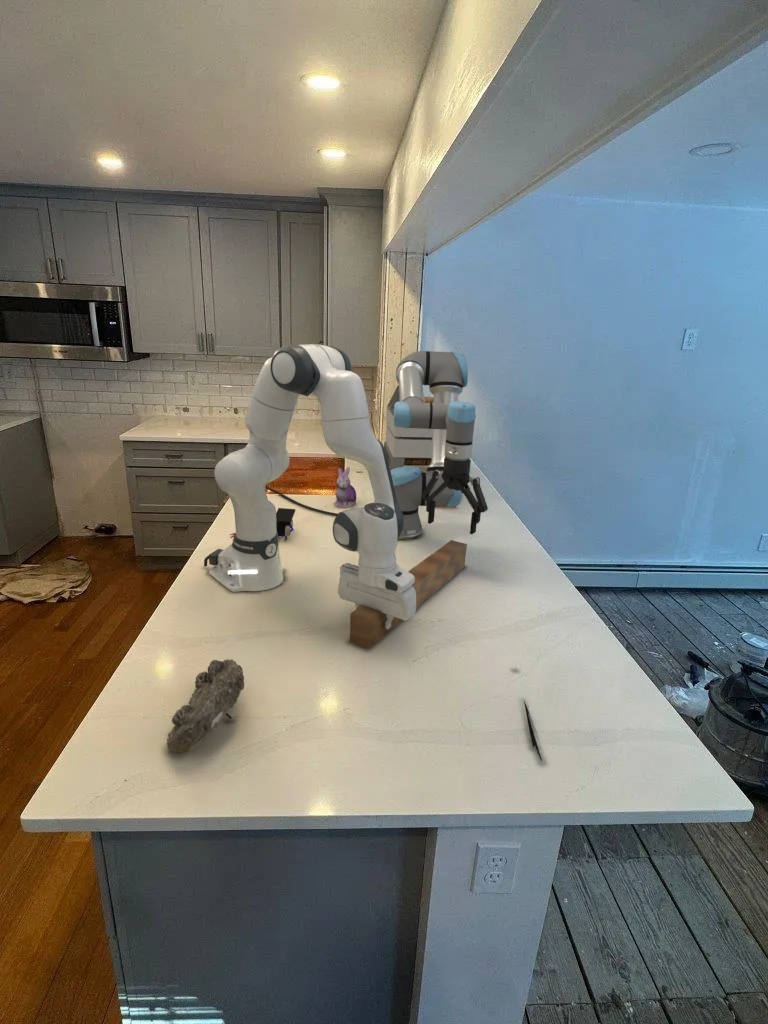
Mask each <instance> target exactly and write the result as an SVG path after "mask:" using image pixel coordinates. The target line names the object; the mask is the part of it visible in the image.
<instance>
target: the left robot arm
mask: <svg viewBox="0 0 768 1024" xmlns="http://www.w3.org/2000/svg"><path fill="white" fill-rule="evenodd" d="M300 395H301V396H305V397H309V396H310V395H314V397H316V398H317V400H318V402H319V405H320V414H321V415H320V416H321V425H322V434H323V438H324V442H325V444H326V446H327V447H328V448H329V449H330V450H331V451H332V452H333V453H334V454H336V455H337V456H339V457H341V458H344V459H347V460H350V461H354V462H357V463H358V464H361V465H362V466H363V467H364V468H365V469H366V472H367V474H368V477H369V481H370V485H371V489H372V494H373V499H374V501H373V502H369V503H367V504H365V505H364V506H361V507H354V508H349V509H345V510H342V511H340V512H338V513H337V516H334V520H333V523H332V536H333V540H334V542H335V543H336V544H338V546H339V547H341V548H343V549H345V550H347V551H350V552H352V553H357V554H358V560H357V561H358V565H357V564H352V563H350V562H345V563H343V564H341V565H340V568H339V575H340V576H339V581H338V586H337V587H338V588H337V595H338V596H339V598H340V599H342V600H345V601H348V602H350V603H353V604H354V607H355V610H356V609H357V608H358V607H360V606H361V605H364V606H367V607H370V608H373V609H376V610H379V611H381V612H382V613H385V614H387V618H388V619H386V620H385V621H383V622H382V625H383V626H382V628H385V629H387V630H388V629H389V628H390V627H391V621H392V620H393V618H394V617H397V618H399V619H402V621H408V620H410V619H411V618H412V617H414V615H416V611H417V608H416V592H415V589H414V587H413V586H412V584H413V583H414V582H415V577H414V576H413V575H412V574H411V573H409V572H408V571H409V570H406V569H404V568H403V567H402V566H401V565H399V564H398V563H397V557H396V550H397V547H398V540H397V539H398V538H399V536H400V535H401V533H402V530H403V527H404V517H403V514H402V511H401V509H400V506H399V504H398V501H397V497H396V493H395V489H394V484H393V480H392V476H391V471H390V467H389V463H388V459H387V455H386V452H385V449H384V443H383V442H382V441H381V440H380V439H378V438H377V437H376V435H375V434H374V432H373V429H372V425H371V420H370V414H369V413H370V412H369V404H368V401H367V400H368V399H367V394H366V391H365V387H364V384H363V381H362V379H361V377H360V376H359V375H358V374H357V373H355V372H353V371H352V363H351V359H350V358H349V356H348V354H347V353H345V352H344V351H343V350H342V349H340V348H338V347H336V346H332V345H324V344H317V343H309V344H296V343H291V344H287V345H284V346H281V347H279V348H278V349H277V350H275V352H274V353H273V355H272V356H271V357H269V358H268V359H267V360H265V362H264V364H263V366H262V368H261V370H260V372H259V374H258V376H257V378H256V382H255V384H254V387H253V390H252V394H251V396H250V400H249V404H248V408H247V411H246V413H245V418H244V424H245V427H246V429H247V430H248V431H249V439H248V442H247V444H246V446H245V447H243V448H240V449H238V450H236V451H233V452H230V453H228V454H227V455H226V456H224V457H223V458H221V459H220V460H219V461H218V462H217V463H216V465H215V467H214V471H213V472H214V473H213V475H214V480H215V482H216V485H217V486H218V488H219V489H220V490H221V491H222V492H223V493H225V494H227V495H228V497H229V499H230V501H231V504H232V507H233V512H234V524H235V525H234V526H235V532H233V533H230V534H229V536H230V537H229V539H232V538H233V539H232V543H231V544H230V545H229V546H227V547H226V548H224V549H222V548H217V549H216V550H214V551H213V552H211V553H209V554H208V555H207V556H206V557H205V558H204V560H203V566H204V567H208V564H209V566H213V567H211V568H210V569H209V571H208V574H209V575H210V576H211V577H212V578H214V580H217V581H218V582H219V583H220V584H221V585H223V586H224V588H227V590H229V591H230V592H233V593H235V592H260V591H268V590H271V589H274V588H277V587H278V586H280V585H281V584H282V583H283V581H284V571H285V569H284V568H285V567H284V566H283V565H282V559H281V552H280V546H279V544H280V543H279V538H280V536H279V537H278V533H277V531H276V512H277V508H276V506H275V504H274V503H273V502H271V500H269V498H268V496H267V492H266V488H265V487H266V486H267V484H269V483H271V482H273V481H276V480H277V479H279V478H280V477H281V476H282V475H283V474H284V473H285V472H286V471H287V470H288V469H289V466H290V460H291V459H290V455H289V451H288V450H287V439H288V438H287V437H288V432H289V429H290V425H291V422H292V419H293V415H294V413H295V409H296V406H297V403H298V399H299V396H300Z"/></svg>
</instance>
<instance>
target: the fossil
mask: <svg viewBox="0 0 768 1024" xmlns="http://www.w3.org/2000/svg"><path fill="white" fill-rule="evenodd" d="M243 670H244V669H243V667H242V665H240V664H237V662H236V661H235V660H234V659H232V658H231V659H227V658H226V659H224V660H223V661H222V660H217V659H212V660H211V661H210V663H209V665H208V666H207V671H201V672H199V673H198V674H197V675H196V676H195V680H194V684H195V685H194V687H195V689H194V690H193V693H192V694H191V697H190V698H189V700H188V704H184V705H182V706H181V707H180V709H177V710H176V711H175V713H174V715H173V716H172V718H171V723H172V724H173V727H172V730H171V731H170V732H168V734H167V738H166V741H167V742H166V745H167V749H168V750H169V751H173V752H174V753H176V754H178V753H182V752H188V751H189V752H192V751H193V750H195V748H196V747H197V746H199V744H200V743H201V742H203V741H204V740H205V739H206V738H207V737H208V736H209V735H210V734H211V733H212V732H214V730H215V729H217V727H218V726H219V724H220V722H221V721H222V720H223V719H224V718H225V716H226V717H227V719H229V720H233V717H232V715H230V714H229V710H230V709H231V708H234V706H235V704H236V703H237V702H238V699H239V697H240V695H241V693H242V691H243V690H245V689H244V688H245V675H244V671H243Z"/></svg>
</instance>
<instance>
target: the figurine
mask: <svg viewBox="0 0 768 1024" xmlns="http://www.w3.org/2000/svg"><path fill="white" fill-rule="evenodd" d="M350 470H351V469H350V466H347V467H346V468H345V470H344V471H343V469H342V467H338V469H337V471H338V472H337V473H338V477H337V479H336V486H337V489H336V492H335V498H336V500H335V505H336V507H338V508H346V507H352V506H354V505H355V504H356V502H357V491H356V489H355V487H354V486H353V485H352V484H351V479H350V477H349V474H350Z"/></svg>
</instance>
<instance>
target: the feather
mask: <svg viewBox="0 0 768 1024" xmlns="http://www.w3.org/2000/svg"><path fill="white" fill-rule="evenodd" d="M514 670H517V669H516V668H514ZM523 704H524V709H525V715H526V719H527V725H528V730H529V735H530V739H531V745H532V748H535V750H536V752H537V754H538V757H539V759H540V761H541V762H542V761H543V760H542V759H543V758H542V756H541V753H540V751H541V752H543V749H539V745H538V744H539V742H540V741H539V736H538V735H537V734H538V733H537V730H536V728H535V724H534V722H533V720H532V717H531V714H530V712H529V709H528V706H527V704H526V701H525V699H524V697H523ZM537 741H538V743H537ZM533 752H534V749H533Z"/></svg>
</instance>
